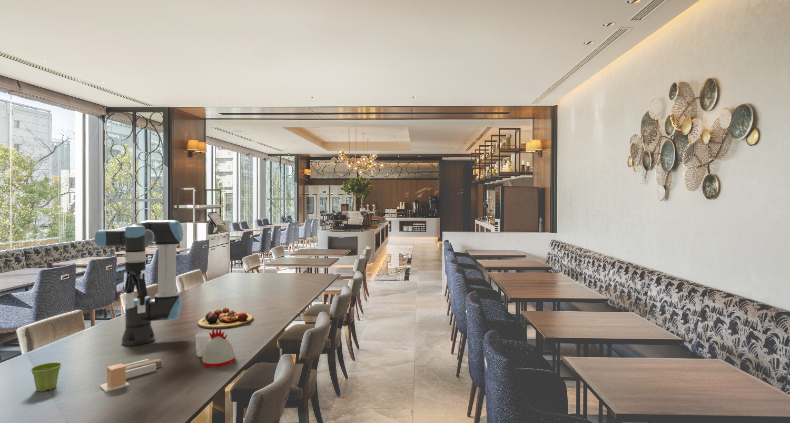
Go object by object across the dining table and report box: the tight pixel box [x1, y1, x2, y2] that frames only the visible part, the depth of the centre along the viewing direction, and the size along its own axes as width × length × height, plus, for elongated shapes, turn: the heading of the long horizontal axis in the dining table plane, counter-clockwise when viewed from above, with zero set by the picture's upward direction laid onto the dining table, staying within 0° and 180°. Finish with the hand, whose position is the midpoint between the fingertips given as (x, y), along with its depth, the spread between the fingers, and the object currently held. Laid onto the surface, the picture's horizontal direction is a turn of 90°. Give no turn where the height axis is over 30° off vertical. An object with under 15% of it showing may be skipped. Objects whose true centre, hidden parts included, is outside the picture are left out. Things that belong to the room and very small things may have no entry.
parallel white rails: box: [123, 358, 157, 380], centre depth 181 cm, size 9×12×3 cm
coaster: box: [99, 381, 130, 393], centre depth 167 cm, size 8×8×1 cm
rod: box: [126, 358, 162, 371], centre depth 184 cm, size 3×14×3 cm, turn 135°
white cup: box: [195, 331, 212, 358], centre depth 203 cm, size 8×8×10 cm
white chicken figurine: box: [201, 329, 236, 368], centre depth 194 cm, size 14×14×15 cm
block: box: [106, 363, 127, 388], centre depth 168 cm, size 5×5×7 cm
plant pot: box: [30, 361, 63, 392], centre depth 165 cm, size 9×9×9 cm
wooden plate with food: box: [197, 307, 254, 330], centre depth 261 cm, size 32×32×8 cm
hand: (135, 310), depth 182 cm, fingers open, 13 cm apart
